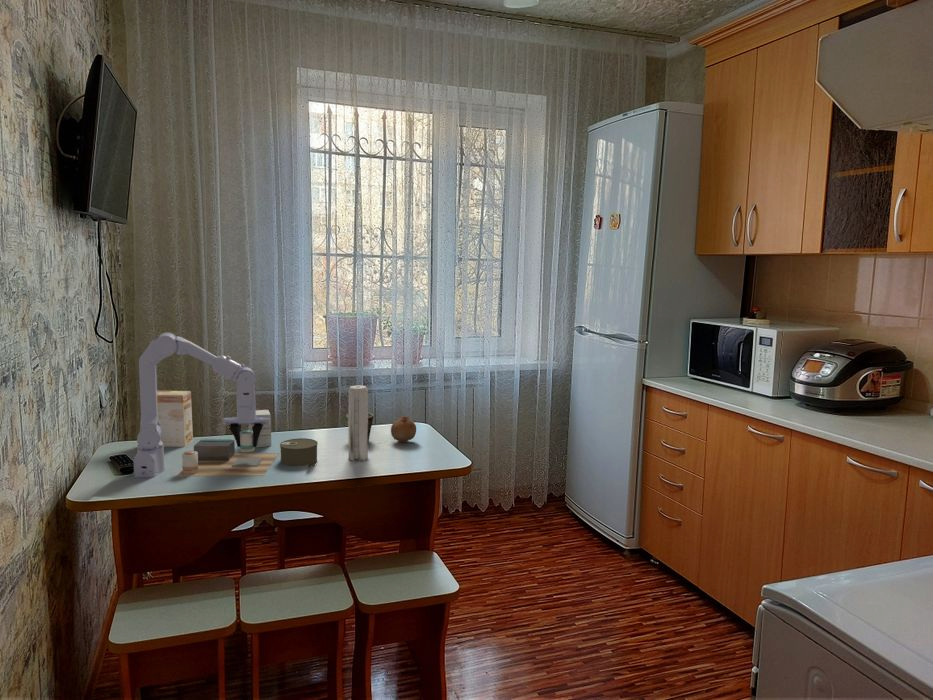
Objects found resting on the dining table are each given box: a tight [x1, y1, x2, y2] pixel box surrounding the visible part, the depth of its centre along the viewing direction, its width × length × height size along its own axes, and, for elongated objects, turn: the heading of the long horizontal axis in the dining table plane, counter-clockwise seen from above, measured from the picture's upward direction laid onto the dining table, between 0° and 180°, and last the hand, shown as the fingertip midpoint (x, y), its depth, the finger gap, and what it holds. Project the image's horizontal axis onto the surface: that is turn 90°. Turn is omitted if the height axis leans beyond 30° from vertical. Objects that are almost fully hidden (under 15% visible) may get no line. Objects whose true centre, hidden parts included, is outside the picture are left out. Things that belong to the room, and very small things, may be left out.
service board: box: [176, 452, 280, 477], centre depth 207 cm, size 23×26×1 cm
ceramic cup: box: [345, 412, 374, 443], centre depth 237 cm, size 13×10×10 cm
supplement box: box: [247, 409, 272, 448], centre depth 228 cm, size 7×7×13 cm
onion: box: [390, 415, 417, 443], centre depth 238 cm, size 10×9×10 cm
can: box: [279, 437, 319, 468], centre depth 212 cm, size 12×12×7 cm
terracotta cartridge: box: [181, 450, 198, 474], centre depth 198 cm, size 4×4×6 cm
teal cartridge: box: [239, 429, 256, 453], centre depth 208 cm, size 4×4×6 cm
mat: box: [232, 458, 263, 466], centre depth 209 cm, size 8×8×1 cm
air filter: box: [347, 385, 369, 462], centre depth 217 cm, size 6×6×25 cm
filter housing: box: [193, 438, 236, 461], centre depth 213 cm, size 7×11×5 cm
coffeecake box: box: [157, 390, 194, 448], centre depth 226 cm, size 15×7×20 cm, turn 89°
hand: (247, 446), depth 208 cm, fingers closed on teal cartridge, 4 cm apart
